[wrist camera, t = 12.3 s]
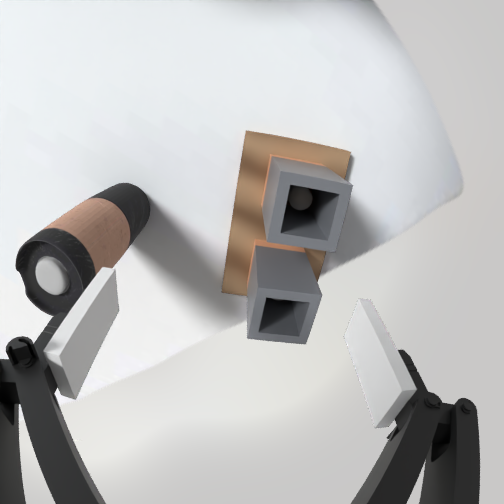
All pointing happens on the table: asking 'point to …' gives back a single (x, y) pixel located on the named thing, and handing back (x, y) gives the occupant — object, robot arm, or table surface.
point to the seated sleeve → (312, 218)
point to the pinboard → (251, 193)
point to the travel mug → (80, 246)
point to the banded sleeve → (281, 294)
